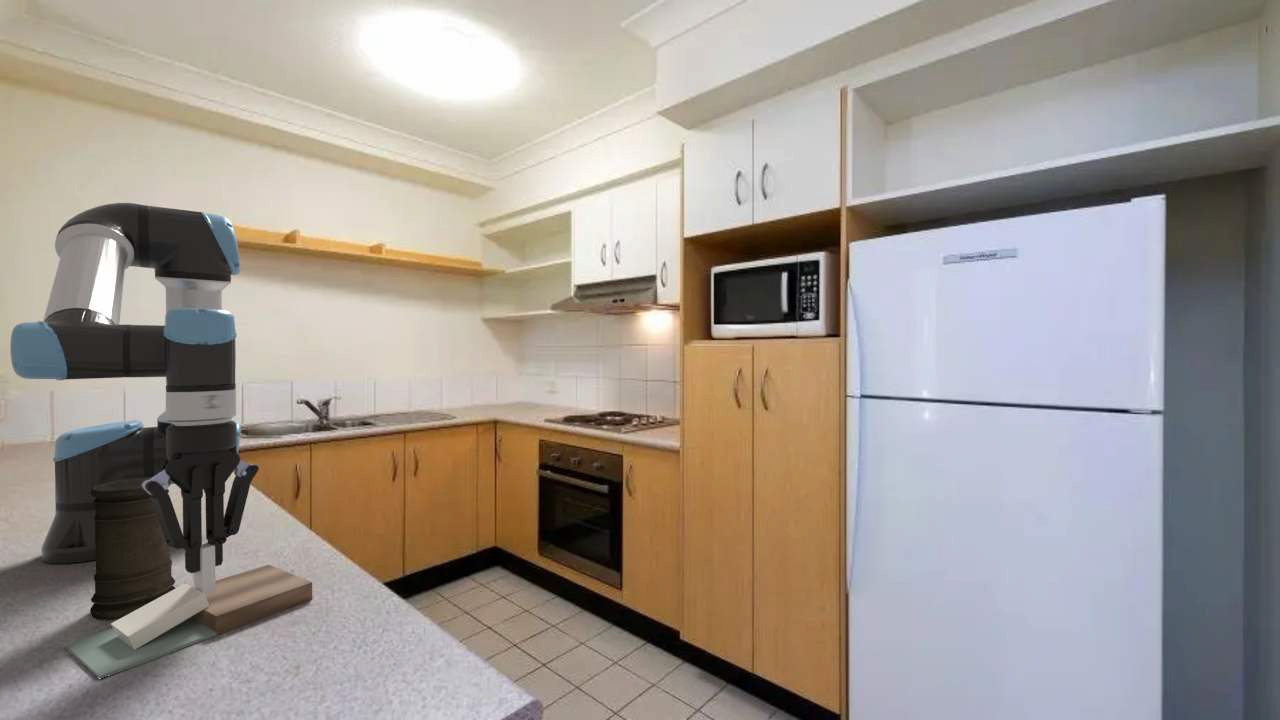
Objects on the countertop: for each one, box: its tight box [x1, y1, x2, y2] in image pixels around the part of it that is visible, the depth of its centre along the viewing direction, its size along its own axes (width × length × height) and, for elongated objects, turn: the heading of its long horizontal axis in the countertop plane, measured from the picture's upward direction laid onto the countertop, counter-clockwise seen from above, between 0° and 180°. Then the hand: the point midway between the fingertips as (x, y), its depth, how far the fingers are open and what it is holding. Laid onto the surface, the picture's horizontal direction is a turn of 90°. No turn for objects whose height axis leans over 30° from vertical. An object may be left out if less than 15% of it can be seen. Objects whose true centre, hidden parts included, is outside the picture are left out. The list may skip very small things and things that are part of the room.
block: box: [110, 583, 210, 650], centre depth 70 cm, size 6×8×2 cm
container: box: [89, 477, 177, 621], centre depth 78 cm, size 9×9×18 cm
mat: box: [63, 617, 217, 679], centre depth 68 cm, size 13×11×1 cm
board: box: [191, 564, 313, 636], centre depth 78 cm, size 13×12×2 cm
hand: (204, 592), depth 74 cm, fingers closed
